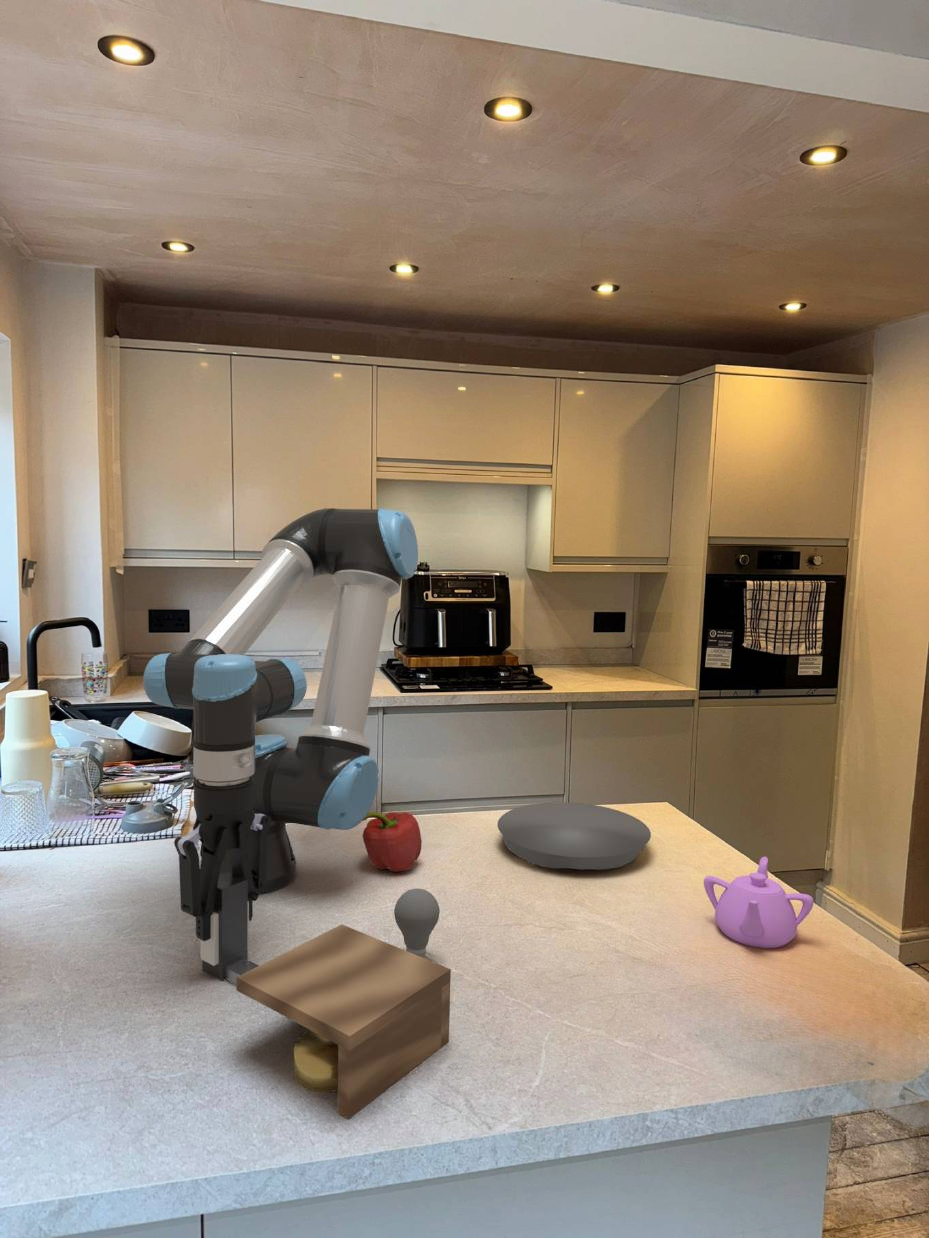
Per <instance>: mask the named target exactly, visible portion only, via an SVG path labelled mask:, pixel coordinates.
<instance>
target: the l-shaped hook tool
mask: <svg viewBox="0 0 929 1238" xmlns="http://www.w3.org/2000/svg"><path fill="white" fill-rule="evenodd" d="M213 912H215V913H217V914H219V964H217V965H214V966H213V965H211V964H209V963H207V962H206V961H204V960H202V959H201V960H202V961H201V963H202V966H201V967H202V969H201V971H202V972H204V973H206V974H208V975H210V976H211V977H214V978H215V979H217V980H219V981H221V982H223V981H227V982H229V983H231V984H233V985H234V986H236V977H238V976H240V975H242V974H244V973H246V972H248V971H250V970H252V969H254V968H256V967H258V966H260V965H259V964H257V963H255V962H253V961H250V959H248V950H247V941H248V879H245V878H243V877H240V876H238V875H235V874H233V873H230V872H225V873H223V874H220V875H219V879H218V885H217V891H216V897H215V904H214V910H213Z"/></svg>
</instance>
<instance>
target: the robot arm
mask: <svg viewBox="0 0 929 1238" xmlns="http://www.w3.org/2000/svg"><path fill="white" fill-rule="evenodd" d="M418 547H419V545H418V539H417V535H416V530H415V527H414V525H413V523H412V520H411V519H410V517H409V516H408V515H407V514H406V513H405V512H404V511H401V510H398V509H397V510H396V509H395V510H394V509H385V508H384V507H383V508H378V509H376V508H375V509H374V508H372V509H371V508H368V509H367V508H363V509H362V508H332V507H331V508H329V507H328V508H327V507H326V508H322V509H321V508H320V509H317V510H314V511H311V512H308V513H306V514H304V515H302V516H300V517H298V518H297V519H295V520H294V521H292V522H290V523H289V524H287V525H286V526H285V527H283V528H282V529H281V530H280V531H278V532H277V533H276V534H275V535H274V536H273V537H272V538H270V540H269V541H268V542H267V543H266V544H265V545H264V546H263V548H262V550H261V554H260V555H261V556H260V560H259V562H257V564H256V565H255V566H253V568H252V569H251V570H250V572H249V573H248V574H247V575H246V576H245V577H244V579H242V581H241V582H240V583H239V584H238V585H237V586H236V587H235V588H234V589H233V590H232V592H231V593H230V594H229V595H228V596H227V597H226V599H225V600H224V601H223V602H222V604H220V605H219V607H218V608H217V609H216V610H215V612H213V614H212V615H211V616H210V617H209V618H208V619H207V620H206V621H205V622H204V624H203V625H202V626H201V627H200V628H199V629H198V630H197V632H196V633H195V634H194V635H193V636H192V638H190V640H188V642H186V644H185V645H184V646H183V647H182V649H181V650H180V651H178V653H174V652H169V653H160V654H157V655H154V656H153V657H152V658H151V659H149V661H148V663H147V664H146V666H145V669H144V672H143V678H142V684H143V690H144V692H145V695H146V696H147V698H148V700H150V702H152V703H153V704H156V705H158V706H163V707H168V708H169V707H170V708H173V709H176V710H177V709H178V710H179V709H186V710H193V730H194V731H193V732H194V733H193V734H194V735H193V737H194V738H193V757H192V758H193V762H192V763H193V766H192V768H193V769H192V770H193V771H192V772H193V773H192V775H193V777H194V778H196V780H195V781H194V782H193V808H194V810H195V811H194V812H195V815H196V817H195V821H194V824H193V827H192V831H191V832H189V833H188V834H187V835H186V836H184V837H181V836H177V837H176V838H175V839H174V841H173V845H174V847H175V849H176V852H177V854H178V868H179V869H178V870H179V886H180V887H179V890H180V894H179V895H180V910H181V911H182V912H183V913H185V914H187V915H189V916H192V917H194V918H195V936H196V938H197V939H199V940H200V960H204V961H206V962H207V963H209V964H211V965H213V966H214V965H217V964H219V914H217V913H215V912H213V910H214V904H215V897H216V891H217V885H218V879H219V875H220V874H223V873H225V872H230V873H233V874H235V875H238V876H240V877H243V878H245V879H248V941H247V951H248V950H249V949H250V948H249V947H250V922H251V921H252V919H253V915H254V913H253V911H254V910H253V907H254V906H253V903H254V902H255V901H257V900H258V899H259V897H260V894H264V893H269V892H273V891H275V890H279V889H281V888H283V887H285V886H287V885H289V884H290V883H291V882H293V880H294V879H295V878H296V876H297V858H296V856H295V854H294V849H293V846H292V843H291V839H290V837H289V834H288V832H287V829H286V828H287V825H286V823H289V824H295V825H300V826H301V825H302V826H308V827H315V828H320V829H323V830H339V831H340V830H341V831H346V830H347V831H348V830H352V829H354V828H355V827H357V826H359V824H361V823H362V822H363V821H362V820H363V819H364V818H365V817H366V815H367V813H370V812H369V811H370V810H371V808H372V806H373V803H374V800H375V798H376V794H377V791H378V785H379V780H380V779H379V776H378V775H379V766H378V764H377V761H376V760H375V759H374V758H372V757H371V756H370V753H371V746H370V745H369V743H368V742H367V740H366V739H365V737H364V736H365V735H364V733H365V728H366V723H367V718H368V712H369V706H370V702H371V695H372V690H373V685H374V679H375V675H376V669H377V665H378V659H379V654H380V648H381V643H382V638H383V633H384V627H385V621H386V618H387V617H386V616H387V611H388V605H389V601H390V599H391V598H392V597H394V596H396V595H398V593H399V592H400V589H401V584H402V580H408V579H410V578H412V577H413V576H415V573H416V572H417V569H418V560H419V548H418ZM324 575H331V576H332V581H333V583H335V585H336V586H337V588H338V593H337V599H336V603H335V608H334V613H333V617H332V622H331V627H330V632H329V637H328V642H327V646H326V650H325V655H324V660H323V661H324V662H323V664H322V665H323V667H322V669H321V675H320V680H319V684H318V688H317V689H318V690H317V695H316V699H315V703H314V708H313V714H312V718H311V723H310V727H308V728H307V729H306V730H304V731H303V732H302V733H300V734H299V736H298V740H297V744H296V748H291V747H287V746H288V741H287V738H286V737H285V736H284V735H282V734H276V733H275V734H273V733H272V734H271V733H270V734H257V735H256V723H258V722H260V721H263V720H266V719H269V718H272V717H275V716H278V715H283V714H286V713H287V712H289V711H291V709H294V708H296V707H298V705H300V704H301V703H302V702H303V700H304V698H305V696H306V693H307V688H308V683H307V678H306V674H305V672H304V670H303V669H302V667H301V666H300V665H299V664H298V663H297V662H295V661H293V660H291V659H288V658H270V659H268V660H264V661H263V660H260V661H259V660H254V659H253V658H252V657H251V656H249V655H245V654H246V653H247V652H248V650H249V649H250V648H251V647H252V646H253V644H254V643H255V642H256V640H258V638H259V637H260V636H261V634H262V633H263V632H264V631H265V629H266V628H267V626H269V624H270V623H271V621H272V620H273V619H274V618H275V616H276V615H277V614H278V613H279V611H280V610H281V609H282V607H284V605H285V604H286V603H287V601H288V600H289V599H290V598H291V596H292V595H293V594H294V593H295V591H296V590H297V589H299V588H303V587H305V586H307V585H308V584H309V583H310V582H311V580H312V579H314V578H315V577H317V576H324ZM199 842H200V843H201V844H200V846H199ZM198 851H199V852H198ZM199 855H200V856H199ZM200 859H201V860H200Z"/></svg>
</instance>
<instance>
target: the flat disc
mask: <svg viewBox="0 0 929 1238" xmlns="http://www.w3.org/2000/svg"><path fill="white" fill-rule="evenodd" d="M496 826H497V829H498V831H499V832H500V833H501V835H502V839H503V841H504V844H505V846H507V848H508V850H509V851H510V852H511V853H513V854H514V855H516V856H517V857H518V858H520V859H525V860H526V862H528V863H532V865H534V866H536V865H537V866H541V867H543V868H549V869H572V870H573V869H576V870H580V871H581V870H595V871H601V870H610V869H613V868H616V869H617V868H620V867H624V866H625V865H626V864H630V863H631V862H633V861H634V860H635V859H636V858H637V857H638V856H639V854H640V853H642V852H643V851H644V849H645V846H646V845H647V844H648V843H649V842H650V839H651V837H652V835H651V834H652V832H651V830H650V828H649V827H648V825H646V824H645V823H644V822H643V821H642V820H640V819H638V818H637V817H635V816H633V815H630V814H629V813H626V812H623V811H620V810H617V809H613V808H611V807H606V806H602V805H596V804H590V803H584V802H583V803H579V802H565V801H562V802H561V801H559V802H558V801H555V802H553V801H552V802H539V803H538V802H537V803H532V804H526V805H522V806H519V807H516V808H513V809H510V810H509V811H506V812H505V813H503V814H502V815H501V816H500V817H499V819H498V820H497V825H496Z"/></svg>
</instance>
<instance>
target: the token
mask: <svg viewBox="0 0 929 1238" xmlns="http://www.w3.org/2000/svg"><path fill="white" fill-rule="evenodd" d="M293 1077H294V1080H295V1081H296V1082H297V1084H298V1085H299V1086H300V1087H301V1088H304V1089H305V1090H309V1091H311V1092H317V1093H329V1092H331V1093H332V1092H335V1091H338V1044H336V1043H334V1042H332V1041H330V1040H328V1039H326V1038H324V1037H323V1036H321V1035H319V1034H317V1033H315V1032H313V1031H311V1030H309V1029H308V1030H307V1031H305V1032H304V1033H303V1034H301V1035H300V1036H299V1037H298V1038H297V1039H296V1041H295V1043H294V1046H293Z"/></svg>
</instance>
